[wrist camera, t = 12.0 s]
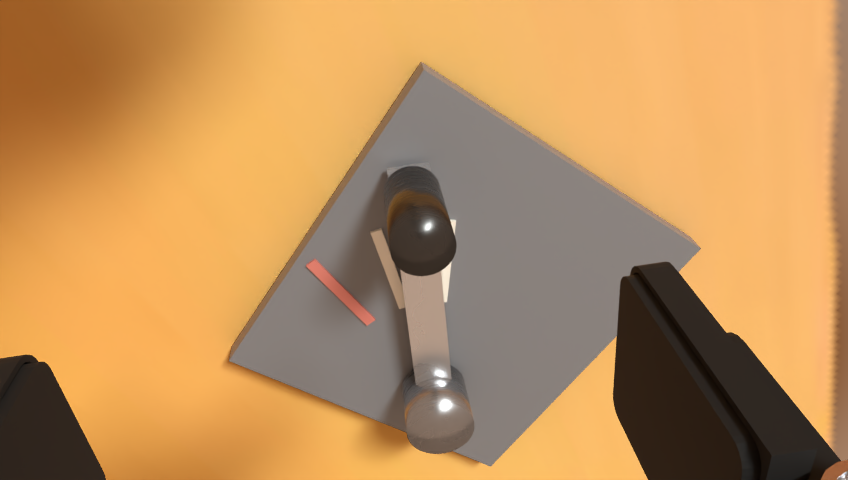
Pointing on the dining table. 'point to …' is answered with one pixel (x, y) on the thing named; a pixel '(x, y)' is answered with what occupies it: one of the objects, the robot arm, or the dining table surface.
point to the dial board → (459, 271)
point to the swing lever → (426, 309)
